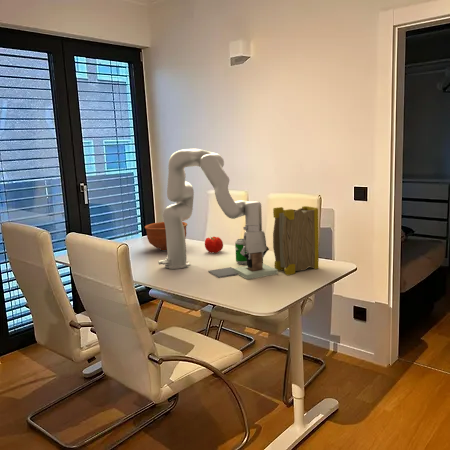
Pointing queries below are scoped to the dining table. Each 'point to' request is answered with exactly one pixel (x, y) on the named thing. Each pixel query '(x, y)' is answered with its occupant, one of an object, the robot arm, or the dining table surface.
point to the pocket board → (255, 272)
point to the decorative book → (295, 239)
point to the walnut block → (256, 262)
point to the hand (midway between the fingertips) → (255, 265)
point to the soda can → (239, 257)
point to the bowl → (159, 234)
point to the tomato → (213, 244)
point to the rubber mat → (223, 272)
